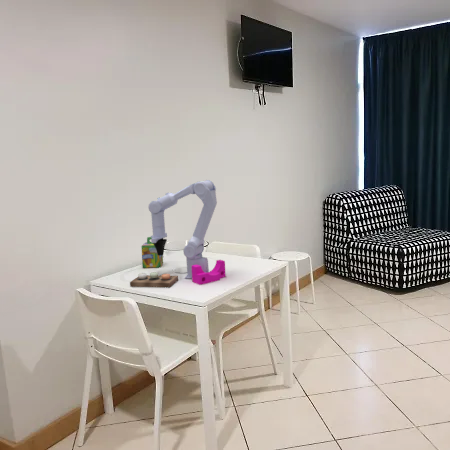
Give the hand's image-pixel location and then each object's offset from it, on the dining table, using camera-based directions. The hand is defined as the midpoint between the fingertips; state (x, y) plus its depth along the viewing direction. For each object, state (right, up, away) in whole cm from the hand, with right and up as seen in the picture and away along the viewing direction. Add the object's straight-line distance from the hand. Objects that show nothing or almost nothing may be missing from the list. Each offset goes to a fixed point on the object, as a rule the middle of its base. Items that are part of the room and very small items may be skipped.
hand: (160, 255), depth 206 cm
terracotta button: (+4, -9, -14) cm, 17 cm away
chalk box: (-7, -7, +19) cm, 22 cm away
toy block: (+24, -11, -11) cm, 28 cm away
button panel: (-1, -12, -12) cm, 17 cm away
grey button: (-6, -9, -12) cm, 16 cm away
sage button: (-1, -9, -13) cm, 16 cm away
